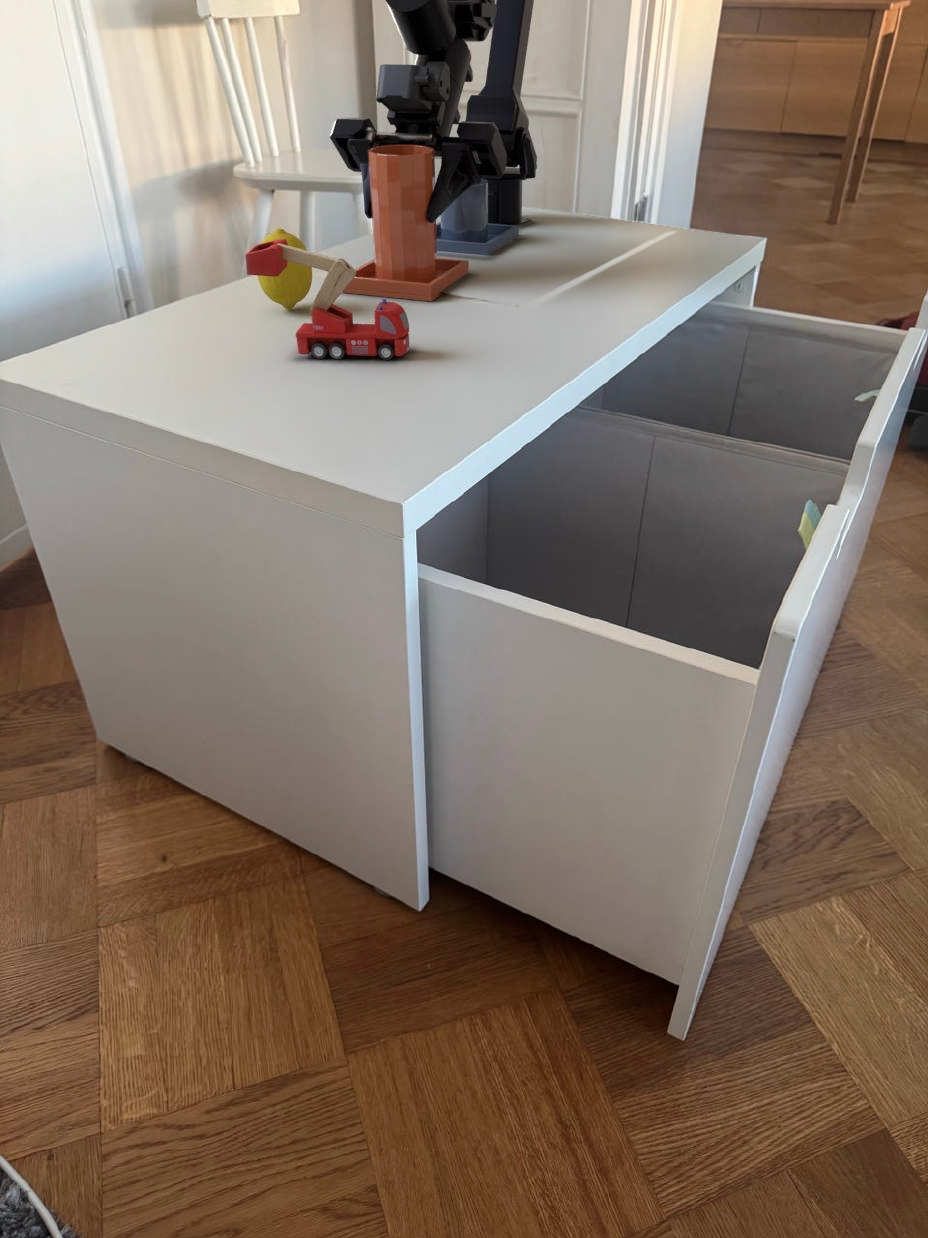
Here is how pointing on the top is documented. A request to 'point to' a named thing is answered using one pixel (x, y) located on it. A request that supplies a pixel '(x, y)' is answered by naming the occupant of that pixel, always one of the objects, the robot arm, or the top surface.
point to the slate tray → (496, 240)
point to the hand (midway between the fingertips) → (398, 218)
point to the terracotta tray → (430, 291)
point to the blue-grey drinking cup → (467, 216)
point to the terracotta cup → (403, 212)
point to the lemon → (287, 276)
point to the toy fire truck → (334, 307)
